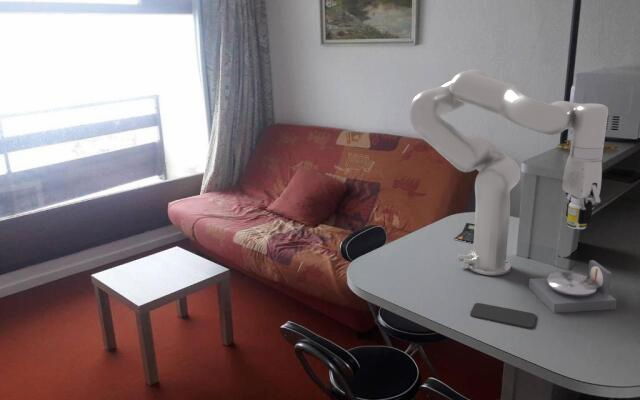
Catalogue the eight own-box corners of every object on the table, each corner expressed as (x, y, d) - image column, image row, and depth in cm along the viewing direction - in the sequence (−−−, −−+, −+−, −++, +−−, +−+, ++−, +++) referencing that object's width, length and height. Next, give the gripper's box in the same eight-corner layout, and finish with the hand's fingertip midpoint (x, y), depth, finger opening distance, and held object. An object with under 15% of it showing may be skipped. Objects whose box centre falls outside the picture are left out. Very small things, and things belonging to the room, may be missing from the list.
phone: (475, 302, 138) (536, 313, 131) (475, 304, 138) (536, 316, 132) (469, 315, 132) (533, 328, 125) (468, 318, 132) (532, 331, 125)
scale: (553, 312, 132) (557, 282, 130) (528, 287, 146) (531, 258, 143) (615, 308, 133) (619, 278, 131) (584, 283, 147) (588, 255, 144)
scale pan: (560, 297, 132) (561, 294, 132) (538, 276, 144) (538, 273, 144) (606, 294, 133) (607, 291, 133) (581, 274, 145) (581, 270, 144)
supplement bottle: (585, 224, 143) (588, 194, 140) (587, 230, 138) (591, 200, 136) (565, 223, 144) (569, 193, 142) (567, 228, 140) (570, 198, 137)
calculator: (454, 240, 180) (454, 232, 179) (466, 230, 189) (467, 222, 188) (481, 246, 175) (482, 237, 174) (492, 235, 184) (493, 227, 183)
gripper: (554, 147, 143) (547, 210, 148) (592, 161, 127) (583, 232, 132) (580, 145, 144) (572, 209, 149) (621, 159, 128) (611, 230, 133)
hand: (577, 219), depth 141 cm, fingers closed on supplement bottle, 4 cm apart
